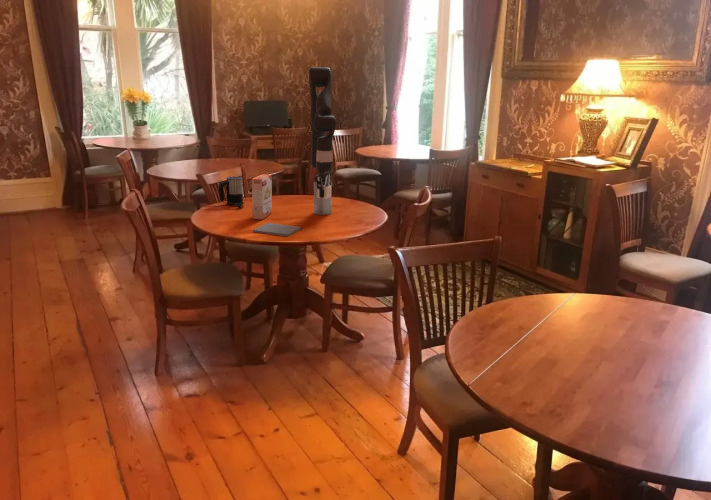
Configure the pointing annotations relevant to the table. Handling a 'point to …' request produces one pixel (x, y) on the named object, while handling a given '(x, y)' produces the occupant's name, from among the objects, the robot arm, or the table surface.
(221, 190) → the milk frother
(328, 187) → the cream cube
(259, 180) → the cracker box
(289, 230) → the slate mat
